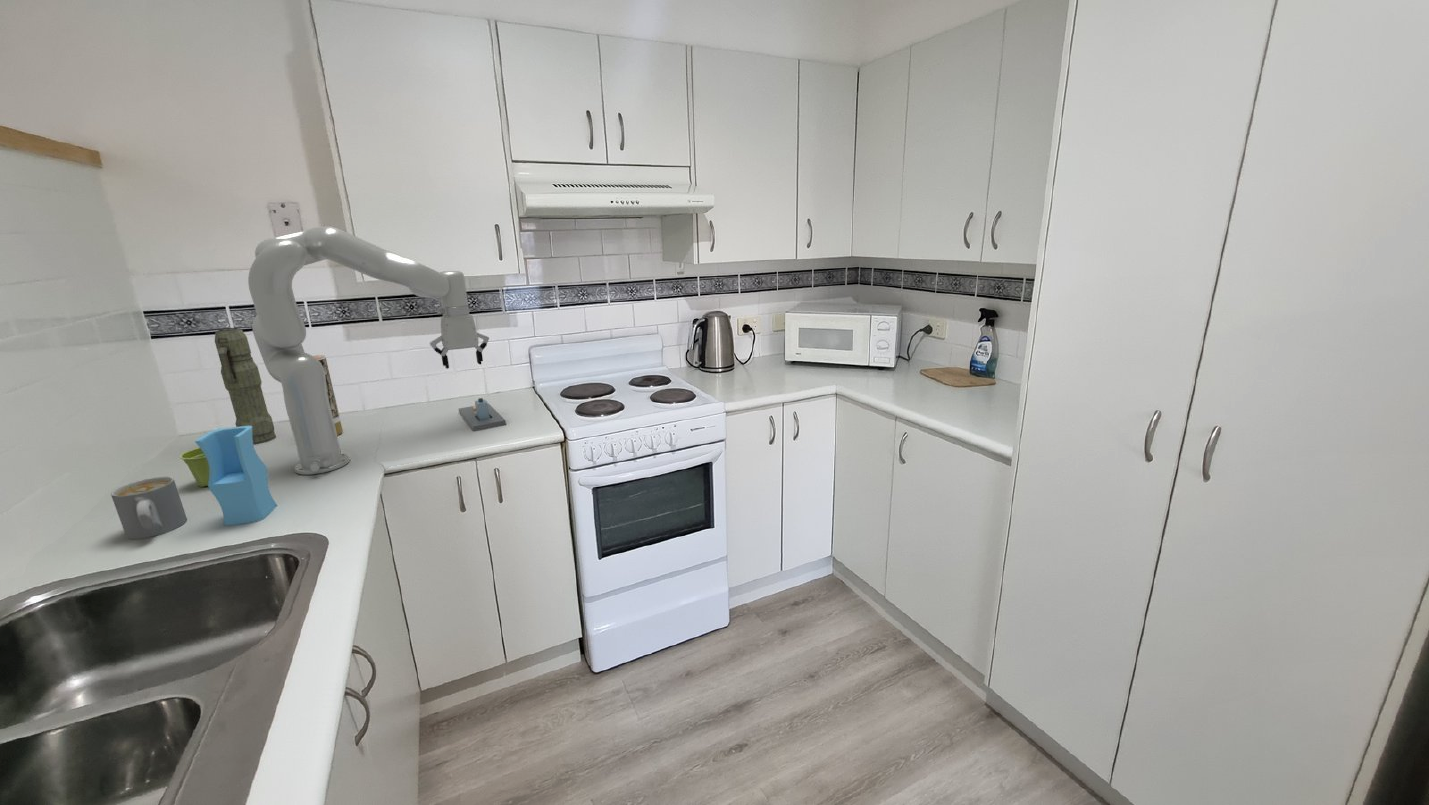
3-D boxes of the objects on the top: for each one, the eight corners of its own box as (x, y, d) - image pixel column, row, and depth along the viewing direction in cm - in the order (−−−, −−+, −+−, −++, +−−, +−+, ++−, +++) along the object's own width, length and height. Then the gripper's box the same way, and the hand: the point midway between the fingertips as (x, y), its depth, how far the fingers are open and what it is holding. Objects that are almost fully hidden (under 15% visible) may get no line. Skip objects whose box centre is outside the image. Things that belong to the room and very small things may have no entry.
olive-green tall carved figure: (233, 448, 175) (199, 333, 165) (251, 435, 186) (220, 327, 176) (267, 444, 178) (236, 330, 168) (282, 432, 189) (254, 324, 178)
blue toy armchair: (221, 526, 127) (194, 441, 121) (238, 510, 134) (213, 429, 129) (262, 520, 129) (238, 436, 123) (277, 505, 137) (254, 424, 131)
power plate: (506, 424, 188) (505, 418, 187) (473, 431, 183) (472, 424, 182) (489, 407, 207) (488, 401, 207) (459, 413, 202) (458, 406, 202)
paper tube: (340, 436, 183) (322, 358, 175) (315, 439, 180) (296, 361, 173) (345, 430, 189) (327, 354, 181) (320, 433, 186) (302, 356, 179)
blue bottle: (490, 422, 191) (486, 399, 189) (480, 424, 189) (477, 401, 187) (487, 419, 194) (483, 396, 192) (477, 421, 193) (474, 398, 190)
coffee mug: (136, 523, 130) (122, 482, 127) (193, 512, 134) (180, 473, 131) (110, 551, 119) (93, 507, 116) (173, 538, 123) (158, 495, 120)
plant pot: (243, 479, 153) (234, 448, 150) (199, 493, 145) (188, 460, 142) (227, 472, 157) (218, 442, 155) (183, 486, 149) (173, 454, 147)
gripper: (426, 315, 173) (435, 371, 178) (487, 310, 182) (494, 364, 186) (423, 313, 179) (432, 367, 184) (482, 308, 188) (489, 360, 193)
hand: (463, 365), depth 185 cm, fingers open, 9 cm apart
